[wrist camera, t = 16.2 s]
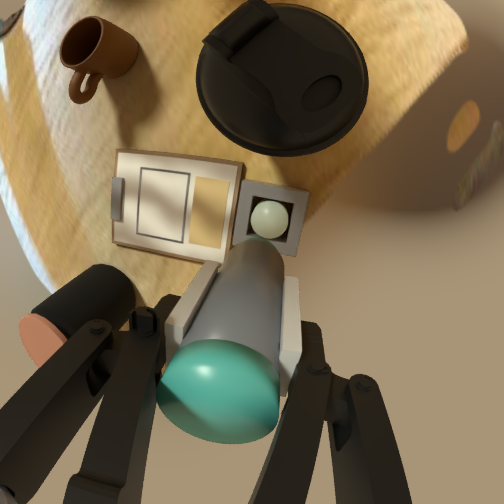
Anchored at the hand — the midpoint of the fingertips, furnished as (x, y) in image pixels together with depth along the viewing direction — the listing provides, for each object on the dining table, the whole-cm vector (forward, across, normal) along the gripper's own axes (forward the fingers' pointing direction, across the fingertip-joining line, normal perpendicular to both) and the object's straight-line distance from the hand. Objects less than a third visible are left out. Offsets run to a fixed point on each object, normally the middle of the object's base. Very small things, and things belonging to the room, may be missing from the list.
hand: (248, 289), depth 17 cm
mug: (+22, -25, +17) cm, 38 cm away
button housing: (+21, 0, -1) cm, 21 cm away
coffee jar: (+22, -23, -18) cm, 36 cm away
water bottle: (+22, 0, +12) cm, 25 cm away
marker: (+5, 0, 0) cm, 5 cm away
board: (+21, -13, -2) cm, 25 cm away
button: (+21, 0, -1) cm, 21 cm away
